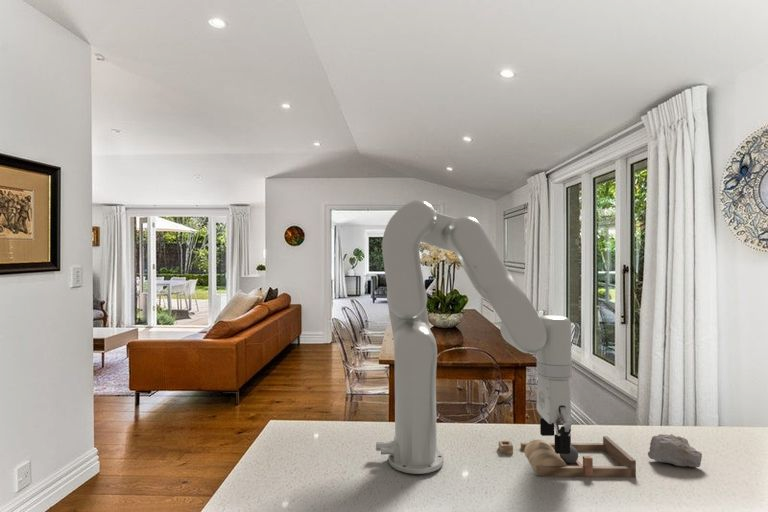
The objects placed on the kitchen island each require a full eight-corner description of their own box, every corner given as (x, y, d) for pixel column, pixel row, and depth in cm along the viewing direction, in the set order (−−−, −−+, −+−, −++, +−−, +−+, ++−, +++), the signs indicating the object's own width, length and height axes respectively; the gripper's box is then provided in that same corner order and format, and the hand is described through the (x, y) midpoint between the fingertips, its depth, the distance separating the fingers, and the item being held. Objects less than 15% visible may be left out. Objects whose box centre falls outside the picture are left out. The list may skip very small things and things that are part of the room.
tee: (501, 455, 106) (501, 445, 106) (498, 450, 109) (498, 440, 109) (513, 455, 106) (512, 445, 106) (510, 450, 109) (510, 440, 109)
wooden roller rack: (537, 499, 96) (537, 457, 96) (520, 470, 109) (520, 433, 109) (636, 500, 95) (636, 458, 95) (607, 470, 108) (606, 434, 108)
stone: (708, 470, 98) (709, 443, 98) (666, 471, 97) (667, 443, 97) (680, 455, 106) (680, 430, 106) (641, 455, 105) (642, 430, 105)
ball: (569, 445, 100) (584, 455, 100) (563, 438, 104) (577, 448, 104) (559, 459, 100) (574, 470, 100) (553, 452, 104) (567, 462, 104)
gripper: (526, 360, 111) (527, 429, 111) (550, 380, 94) (551, 461, 94) (556, 360, 111) (557, 429, 111) (586, 380, 94) (587, 461, 94)
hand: (554, 443), depth 102 cm, fingers open, 9 cm apart
